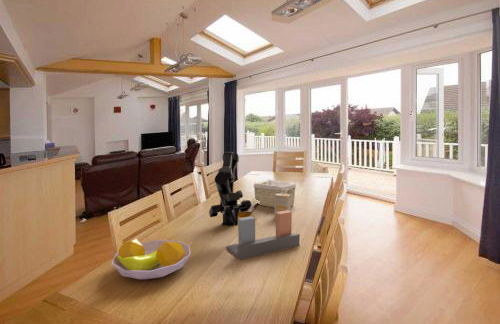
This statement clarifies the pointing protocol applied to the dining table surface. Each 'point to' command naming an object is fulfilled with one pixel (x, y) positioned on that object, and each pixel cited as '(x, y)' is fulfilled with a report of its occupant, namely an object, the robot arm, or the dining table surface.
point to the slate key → (246, 230)
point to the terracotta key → (283, 223)
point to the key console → (264, 246)
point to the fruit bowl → (150, 258)
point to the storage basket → (273, 191)
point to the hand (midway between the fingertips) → (236, 225)
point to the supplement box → (282, 202)
